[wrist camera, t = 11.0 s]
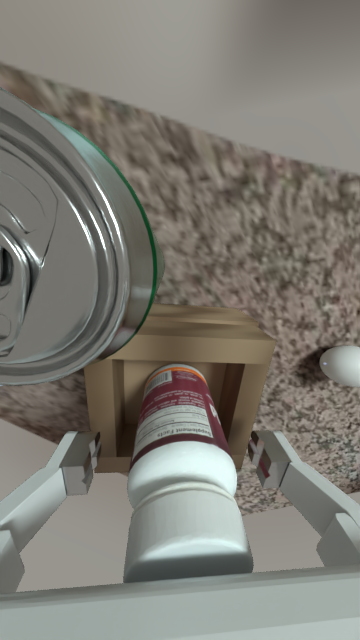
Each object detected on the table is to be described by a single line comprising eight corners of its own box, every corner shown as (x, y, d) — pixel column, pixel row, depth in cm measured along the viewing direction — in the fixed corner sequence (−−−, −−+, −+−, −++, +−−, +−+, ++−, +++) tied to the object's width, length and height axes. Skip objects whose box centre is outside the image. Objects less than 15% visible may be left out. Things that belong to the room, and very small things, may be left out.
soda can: (173, 245, 14) (205, 147, 2) (153, 303, 15) (110, 428, 4) (110, 218, 13) (-373, -167, 1) (94, 283, 14) (-210, 361, 3)
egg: (349, 372, 19) (393, 398, 15) (300, 369, 18) (333, 394, 15) (365, 341, 18) (415, 361, 14) (313, 336, 17) (352, 355, 14)
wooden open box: (236, 308, 16) (282, 337, 9) (218, 403, 19) (243, 471, 13) (113, 300, 15) (73, 326, 8) (117, 403, 18) (91, 475, 12)
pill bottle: (204, 411, 14) (253, 606, 6) (145, 413, 14) (115, 622, 6) (209, 361, 13) (284, 529, 5) (144, 361, 12) (100, 545, 4)
